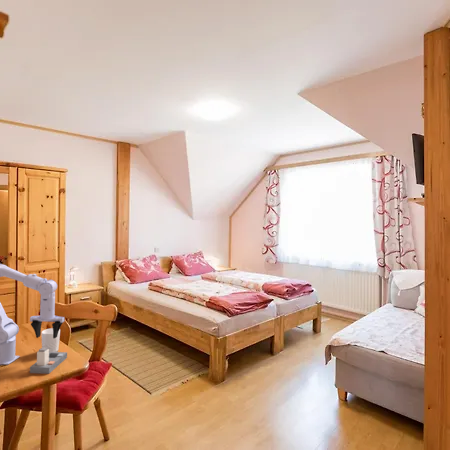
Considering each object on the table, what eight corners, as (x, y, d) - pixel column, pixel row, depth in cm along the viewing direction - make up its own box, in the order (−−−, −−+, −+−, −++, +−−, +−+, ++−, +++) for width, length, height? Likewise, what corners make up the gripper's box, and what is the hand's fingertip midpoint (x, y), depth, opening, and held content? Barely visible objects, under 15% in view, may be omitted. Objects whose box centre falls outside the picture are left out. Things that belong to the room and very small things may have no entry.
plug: (36, 370, 132) (37, 350, 132) (41, 367, 135) (41, 347, 135) (44, 371, 132) (44, 350, 132) (48, 367, 135) (49, 347, 135)
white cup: (42, 349, 153) (43, 328, 153) (60, 347, 156) (61, 327, 156) (39, 355, 146) (40, 334, 146) (58, 353, 149) (58, 333, 149)
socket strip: (29, 372, 130) (30, 365, 130) (49, 357, 145) (49, 350, 145) (49, 373, 130) (49, 366, 130) (67, 357, 145) (67, 351, 145)
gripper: (26, 309, 138) (25, 340, 138) (59, 310, 138) (58, 341, 138) (35, 305, 145) (34, 334, 145) (67, 306, 145) (66, 335, 145)
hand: (46, 337), depth 142 cm, fingers open, 7 cm apart
